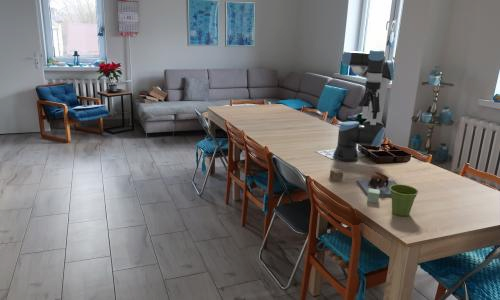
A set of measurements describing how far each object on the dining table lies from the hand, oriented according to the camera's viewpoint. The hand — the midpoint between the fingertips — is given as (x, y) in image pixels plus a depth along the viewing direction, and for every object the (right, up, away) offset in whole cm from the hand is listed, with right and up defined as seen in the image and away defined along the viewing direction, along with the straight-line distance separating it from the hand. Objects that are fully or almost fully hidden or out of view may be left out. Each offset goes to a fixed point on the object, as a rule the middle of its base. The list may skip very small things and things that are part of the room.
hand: (368, 121), depth 213 cm
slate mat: (+4, -35, -9) cm, 36 cm away
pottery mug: (+2, -34, -9) cm, 35 cm away
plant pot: (+4, -43, -35) cm, 55 cm away
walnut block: (-17, -31, +3) cm, 35 cm away
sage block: (-5, -39, -23) cm, 45 cm away
